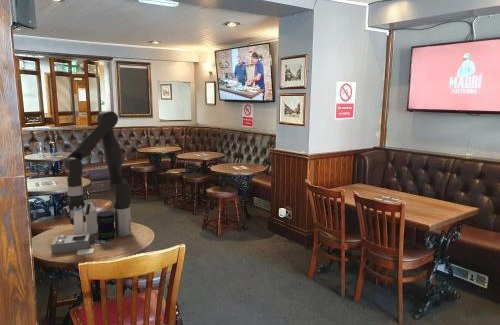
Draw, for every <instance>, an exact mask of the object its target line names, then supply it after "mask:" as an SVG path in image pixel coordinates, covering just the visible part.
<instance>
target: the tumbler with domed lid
mask: <svg viewBox="0 0 500 325" xmlns="http://www.w3.org/2000/svg"><path fill="white" fill-rule="evenodd" d="M72 211H74V216H73V221H74V225H72V227H73V235H82V234H84V223H83V213H82V208H76V209H72Z"/></svg>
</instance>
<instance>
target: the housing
mask: <svg viewBox="0 0 500 325" xmlns="http://www.w3.org/2000/svg"><path fill="white" fill-rule="evenodd" d="M57 240H60V239H59V236H54V238H53V240H52V242H51V244H50V248H51V249H50V250H51V254H59V253H68V252H76V251H77V252H78V250H84V249H90V244H91V243H92V242H91V235H90V233H89V234H82V235H74V234H70V235H65V239H63V243H59V244H57Z"/></svg>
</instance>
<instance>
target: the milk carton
mask: <svg viewBox="0 0 500 325" xmlns="http://www.w3.org/2000/svg"><path fill="white" fill-rule="evenodd" d="M88 203H89V204H90V211H89V214H87V215H86V221H85V223H84V234H89V233H90V236H91V235H95V234H98V232H97V230H98V224H97V215H96V214H97V213H98V212H97V208H96V207H95V205H94V202H88ZM83 210H84V212H86V206H84V208H83Z"/></svg>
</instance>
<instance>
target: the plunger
mask: <svg viewBox="0 0 500 325" xmlns="http://www.w3.org/2000/svg"><path fill="white" fill-rule="evenodd" d="M65 236H66V234H60V235H58V237H59V239H65Z"/></svg>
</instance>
